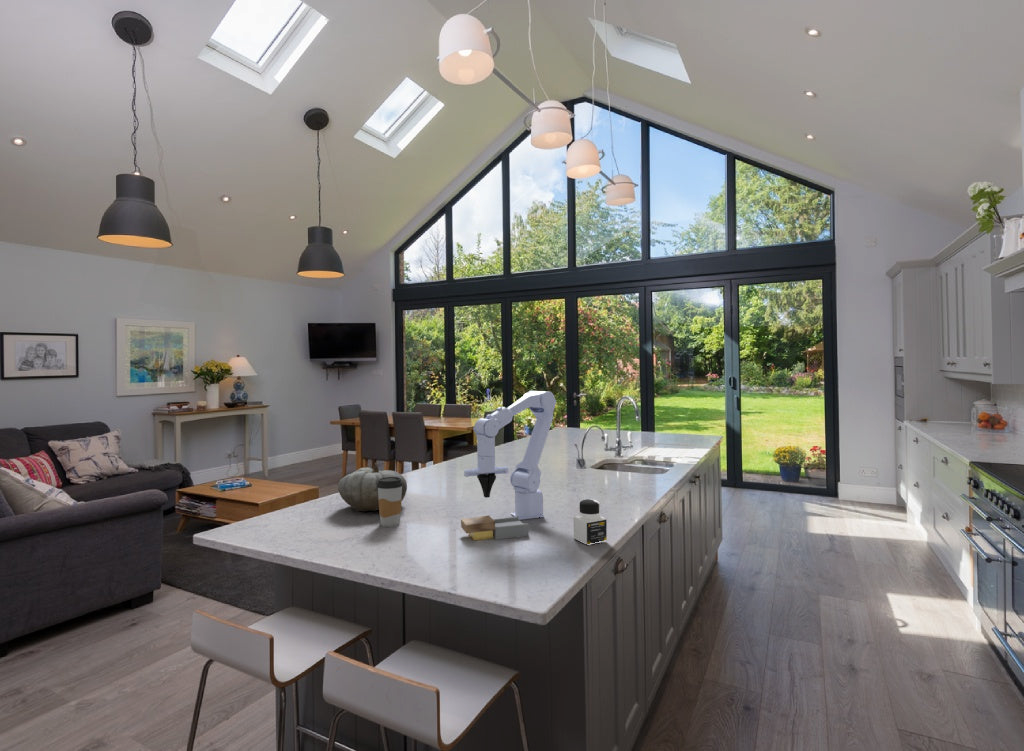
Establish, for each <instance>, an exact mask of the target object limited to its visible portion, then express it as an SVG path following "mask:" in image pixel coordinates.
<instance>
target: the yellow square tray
mask: <svg viewBox="0 0 1024 751" xmlns="http://www.w3.org/2000/svg"><path fill="white" fill-rule="evenodd" d="M468 536H469V538H471V539H472V541H481V540H482V541H483V540H489V539H490V540H491V539H494V537H493V530H489V531H481V532H474V533H468Z"/></svg>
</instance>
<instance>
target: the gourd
mask: <svg viewBox="0 0 1024 751" xmlns="http://www.w3.org/2000/svg"><path fill="white" fill-rule="evenodd" d="M378 466H379V465H378V463H377V462H375V463H374V465H373V468H371V467H360V468H359V469H357V470H355V471H354V472H352V473H349V474H347V475H345V476H344V477H342V478H340V480H339V482H338V484H337V489H338V492H339V495H340V497H341V499H342V500H343V501H344V502H345V503H346V504H347V505H348V506H350V507H351V508H352V509H354V510H356V511H359V512H369V511H372V512H375V511H378V510H379V501H378V500H379V498H378V487H377V483H378V481H379V479H380V478H385V477H399V478H401V481H402V485H403V486H402V496H401V498H402V501H403V500H404V498H405V497H406V494H407V489H408V485H407V480H406V479H405V477H404V476H403V475H402V474H401V473H399V472H398V471H395V470H388V469H384V470H379V467H378Z"/></svg>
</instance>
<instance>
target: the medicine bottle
mask: <svg viewBox="0 0 1024 751" xmlns="http://www.w3.org/2000/svg"><path fill="white" fill-rule="evenodd" d="M607 528H608V527H607V518H605V517H604V516H601V503H600V501H598V500H597V499H590V498H589V499H588V498H587V499H583V500H581V501H580V502H579V515H573V539H574V538H575V539H577V540H579V541H582V542H584V543H586V544H590V543H595V542H599V541H604V540H607V536H608V535H607V530H608V529H607Z"/></svg>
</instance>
